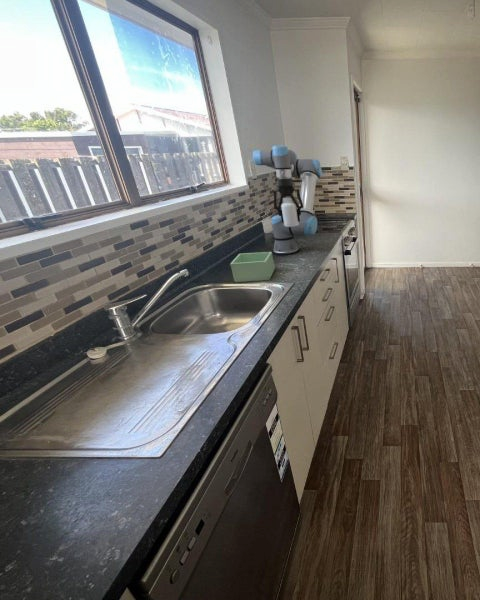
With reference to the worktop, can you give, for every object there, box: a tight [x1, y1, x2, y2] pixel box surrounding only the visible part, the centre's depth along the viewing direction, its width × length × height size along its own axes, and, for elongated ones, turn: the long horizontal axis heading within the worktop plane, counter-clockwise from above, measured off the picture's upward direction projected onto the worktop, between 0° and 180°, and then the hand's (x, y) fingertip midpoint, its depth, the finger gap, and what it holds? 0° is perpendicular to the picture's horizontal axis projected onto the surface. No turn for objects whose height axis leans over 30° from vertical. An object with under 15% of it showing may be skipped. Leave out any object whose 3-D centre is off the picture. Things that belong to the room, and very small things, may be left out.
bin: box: [229, 251, 276, 283], centre depth 170 cm, size 17×17×10 cm
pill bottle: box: [281, 196, 299, 227], centre depth 180 cm, size 8×8×15 cm
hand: (291, 221), depth 182 cm, fingers closed on pill bottle, 8 cm apart
